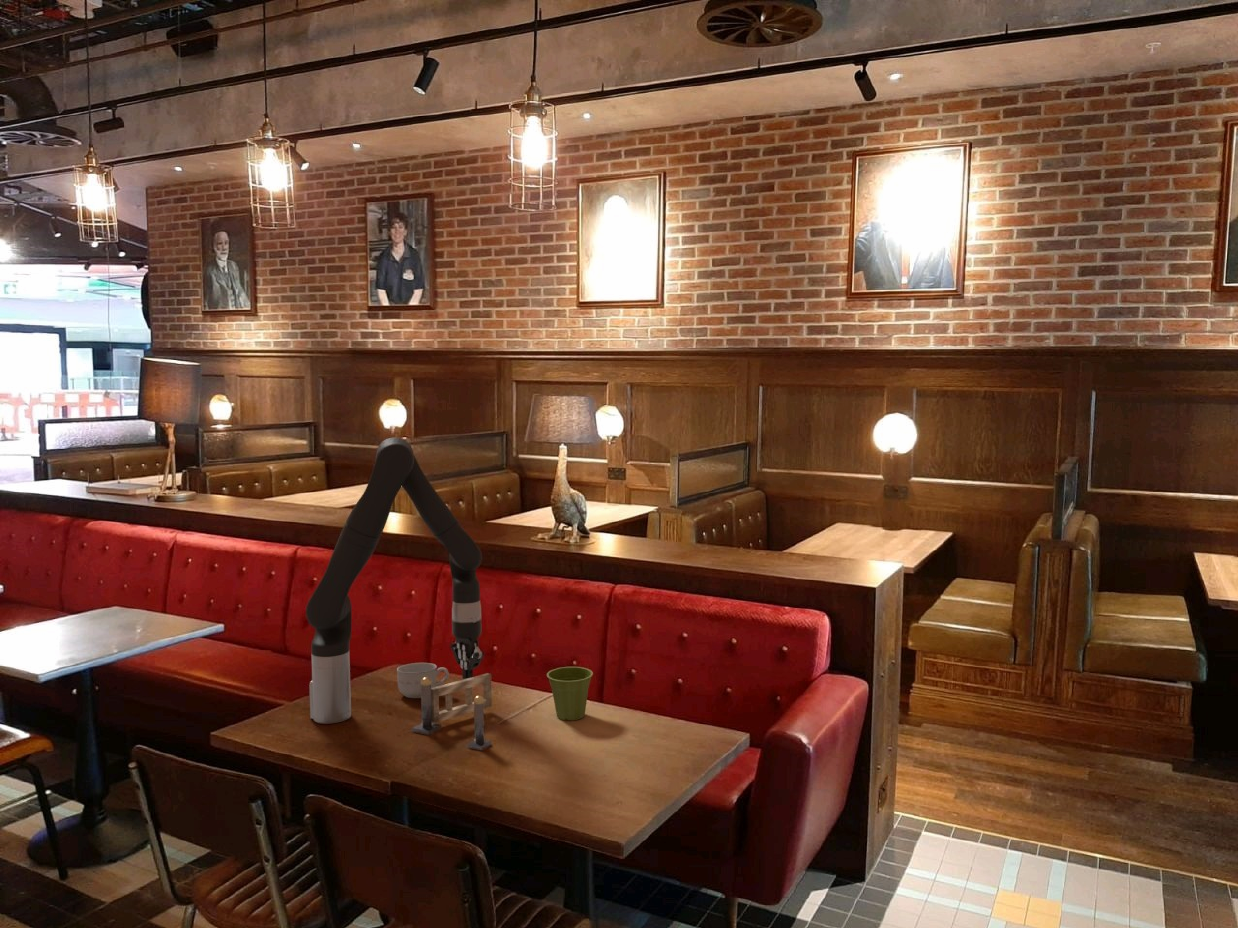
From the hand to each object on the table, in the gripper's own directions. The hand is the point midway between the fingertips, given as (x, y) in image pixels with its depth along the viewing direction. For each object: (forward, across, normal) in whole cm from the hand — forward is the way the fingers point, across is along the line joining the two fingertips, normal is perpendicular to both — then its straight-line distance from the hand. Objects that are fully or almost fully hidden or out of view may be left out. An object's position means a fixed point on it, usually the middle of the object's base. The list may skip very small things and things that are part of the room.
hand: (467, 682), depth 242 cm
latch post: (+7, +23, -12) cm, 27 cm away
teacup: (+7, -17, -3) cm, 19 cm away
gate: (+6, +6, -6) cm, 10 cm away
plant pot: (+7, +23, +16) cm, 29 cm away
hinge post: (+7, +6, -16) cm, 18 cm away
